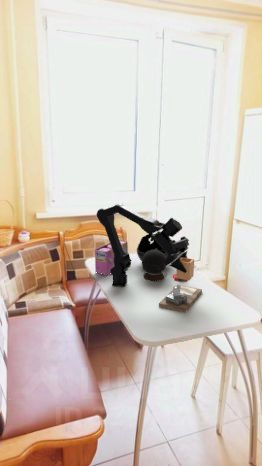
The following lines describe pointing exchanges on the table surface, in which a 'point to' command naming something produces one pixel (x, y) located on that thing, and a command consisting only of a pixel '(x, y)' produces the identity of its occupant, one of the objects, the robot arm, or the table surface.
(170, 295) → the vise
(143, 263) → the black ball on stand
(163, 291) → the table surface
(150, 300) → the table surface
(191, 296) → the board
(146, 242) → the bowl of black rocks
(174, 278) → the tow hook
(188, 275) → the tan cardboard box
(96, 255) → the gum box
